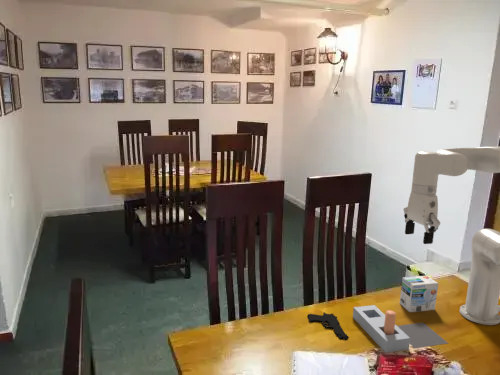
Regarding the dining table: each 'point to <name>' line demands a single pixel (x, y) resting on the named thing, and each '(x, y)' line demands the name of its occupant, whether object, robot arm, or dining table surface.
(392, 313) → the dowel
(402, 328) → the mat
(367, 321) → the socket block
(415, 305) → the light bulb box
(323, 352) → the dining table surface
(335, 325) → the handgun
